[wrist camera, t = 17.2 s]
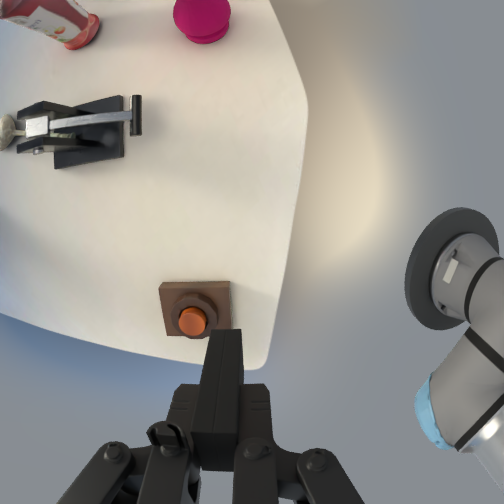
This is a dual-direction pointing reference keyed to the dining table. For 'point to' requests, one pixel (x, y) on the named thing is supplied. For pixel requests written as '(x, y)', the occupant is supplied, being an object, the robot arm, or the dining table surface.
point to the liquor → (53, 19)
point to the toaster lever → (88, 121)
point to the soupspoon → (18, 132)
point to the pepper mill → (202, 19)
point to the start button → (192, 321)
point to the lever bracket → (77, 133)
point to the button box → (196, 305)
